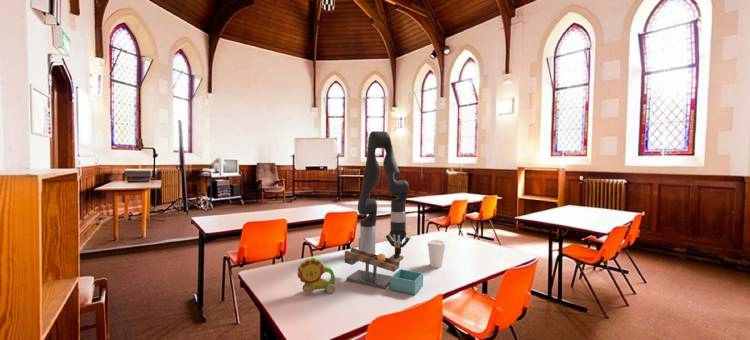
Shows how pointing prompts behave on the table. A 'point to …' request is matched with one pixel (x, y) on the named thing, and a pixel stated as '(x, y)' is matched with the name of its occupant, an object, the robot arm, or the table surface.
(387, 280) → the stand
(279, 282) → the table surface
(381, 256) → the ball
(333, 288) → the toy lion
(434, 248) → the foam cup
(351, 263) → the lever
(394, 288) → the teal storage bin
